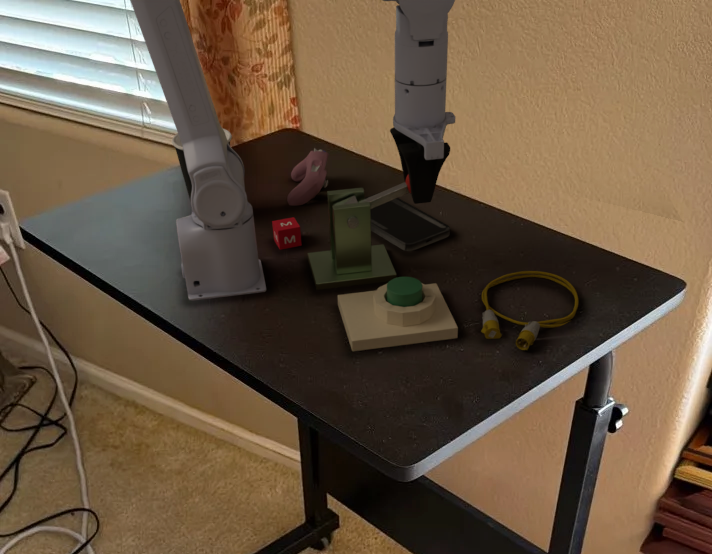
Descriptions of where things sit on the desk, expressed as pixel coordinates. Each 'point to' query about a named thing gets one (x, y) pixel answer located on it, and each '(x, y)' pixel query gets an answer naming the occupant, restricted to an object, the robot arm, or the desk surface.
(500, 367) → the desk surface
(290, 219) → the red letter cube
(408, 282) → the button
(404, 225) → the phone
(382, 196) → the switch lever
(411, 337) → the switch plate
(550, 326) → the extension cord
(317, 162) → the video game controller
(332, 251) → the switch bracket
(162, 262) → the desk surface
